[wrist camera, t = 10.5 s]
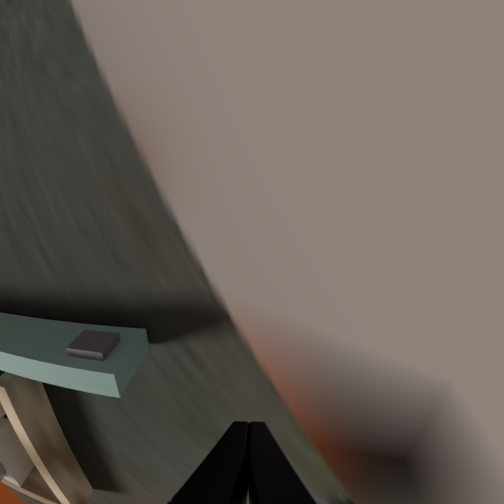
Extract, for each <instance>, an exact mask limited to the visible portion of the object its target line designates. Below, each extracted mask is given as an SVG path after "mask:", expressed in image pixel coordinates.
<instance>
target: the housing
mask: <svg viewBox="0 0 504 504" xmlns="http://www.w3.org/2000/svg"><path fill="white" fill-rule="evenodd" d="M0 402H1V404H2V406H3V408H4V410H5V412H6V414H7V416H8V418H9V420H10V422H11V424H12V426H13V428H14V430H15V432H16V434H17V436H18V437H19V439H20V441H21V443H22V445H23V446H24V448H25V450H26V451H27V453H28V455H29V456H30V458H31V460H32V461H33V463H34V465H35V466H34V468H33V469H32V471H31V472H30V474H29V475H28V477H27V478H26V480H25V481H24V483H23V484H22V486H21V487H19V486H17V485H15V484H14V483H12V482H10V481H8V480H6V479H4V478H3V479H2V481H1V482H3V483H4V484H6V485H8V486H10V487H12V488H14V489H16V490H18V491H20V492H22V493H24V494H26V495H28V496H30V497H32V498H34V499H37V500H39V501H41V502H43V503H46V504H87V502H88V500H89V498H90V496H91V493H92V491H93V488H92V486H91V485H90V483H89V481H88V480H87V478H86V476H85V474H84V473H83V471H82V469H81V467H80V465H79V463H78V462H77V460H76V458H75V456H74V454H73V452H72V450H71V448H70V446H69V444H68V442H67V440H66V438H65V436H64V434H63V432H62V429H61V427H60V425H59V423H58V421H57V418H56V416H55V414H54V411H53V409H52V407H51V404H50V402H49V399H48V397H47V394H46V392H45V389H44V386H43V384H42V382H40V381H37V380H33V379H29V378H25V377H22V376H18V375H15V374H12V373H8V372H5V373H4V374H2V375H1V376H0ZM3 418H6V417H4V416H3ZM6 419H7V418H6Z"/></svg>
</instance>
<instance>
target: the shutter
mask: <svg viewBox="0 0 504 504" xmlns="http://www.w3.org/2000/svg"><path fill="white" fill-rule="evenodd" d="M148 351H149V345H148V338H147V332H146V329H141V328H127V327H115V326H103V325H93V324H83V323H73V322H65V321H56V320H48V319H41V318H33V317H26V316H19V315H13V314H7V313H0V370H2V371H5V372H8V373H12V374H15V375H18V376H22V377H25V378H29V379H33V380H37V381H40V382H44V383H48V384H52V385H57V386H61V387H65V388H70V389H74V390H79V391H84V392H89V393H95V394H100V395H106V396H112V397H118V398H120V397H121V396H122V394H123V392H124V391H125V389H126V387H127V386H128V384H129V382H130V380H131V379H132V377H133V375H134V374H135V372H136V371H137V369H138V367H139V366H140V364H141V362H142V361H143V359H144V357H145V356H146V354H147V352H148Z"/></svg>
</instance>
